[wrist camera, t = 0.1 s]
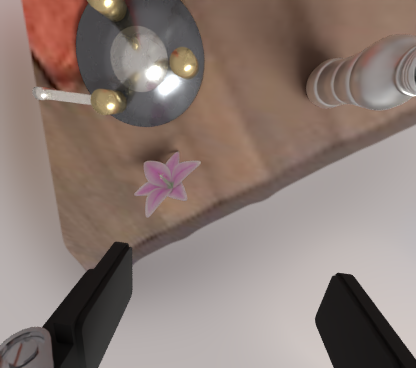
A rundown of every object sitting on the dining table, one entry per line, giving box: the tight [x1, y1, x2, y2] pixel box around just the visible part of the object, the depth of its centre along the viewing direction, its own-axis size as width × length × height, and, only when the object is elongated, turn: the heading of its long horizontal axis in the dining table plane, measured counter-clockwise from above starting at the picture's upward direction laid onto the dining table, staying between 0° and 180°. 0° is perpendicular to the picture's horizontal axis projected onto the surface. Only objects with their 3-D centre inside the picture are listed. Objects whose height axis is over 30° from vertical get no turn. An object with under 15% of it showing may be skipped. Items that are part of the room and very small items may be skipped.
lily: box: [134, 152, 201, 217], centre depth 39 cm, size 12×12×10 cm
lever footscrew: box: [32, 87, 127, 115], centre depth 34 cm, size 13×4×4 cm, turn 83°
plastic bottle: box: [306, 34, 416, 110], centre depth 26 cm, size 6×7×20 cm
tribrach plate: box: [76, 0, 205, 127], centre depth 33 cm, size 20×20×6 cm
